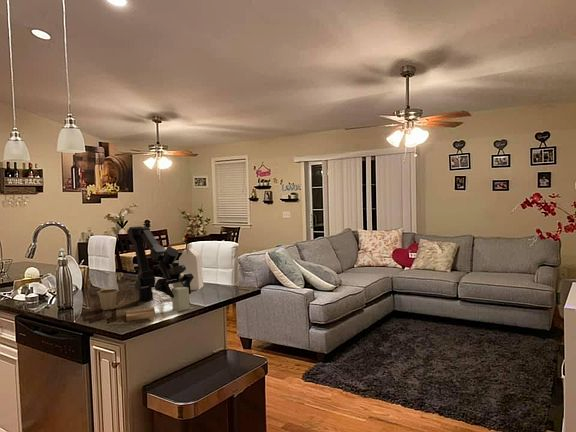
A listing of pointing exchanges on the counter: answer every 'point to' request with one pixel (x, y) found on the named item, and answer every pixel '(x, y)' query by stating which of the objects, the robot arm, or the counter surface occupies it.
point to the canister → (180, 298)
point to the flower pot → (108, 298)
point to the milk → (192, 266)
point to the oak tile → (140, 314)
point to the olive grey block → (180, 282)
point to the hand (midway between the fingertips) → (182, 295)
